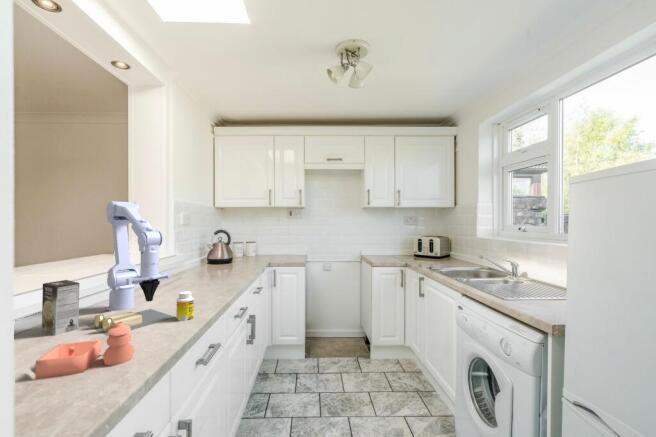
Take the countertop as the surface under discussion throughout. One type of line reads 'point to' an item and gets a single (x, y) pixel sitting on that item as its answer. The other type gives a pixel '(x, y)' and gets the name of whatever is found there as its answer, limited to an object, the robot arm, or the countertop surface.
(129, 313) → the cream beveled panel
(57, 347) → the pottery
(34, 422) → the countertop surface
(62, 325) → the coffee box
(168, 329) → the countertop surface
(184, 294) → the supplement bottle
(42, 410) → the countertop surface
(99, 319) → the bench dogs
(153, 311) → the board
